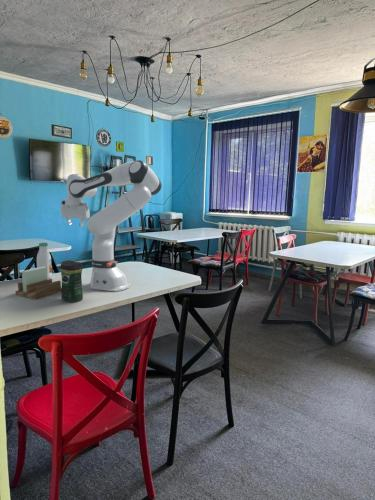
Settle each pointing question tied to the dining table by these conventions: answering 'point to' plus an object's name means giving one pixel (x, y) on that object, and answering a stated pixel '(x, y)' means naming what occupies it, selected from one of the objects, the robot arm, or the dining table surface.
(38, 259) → the milk bottle
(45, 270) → the tall mint green block
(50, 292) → the rack
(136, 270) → the dining table surface
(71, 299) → the coffee jar
